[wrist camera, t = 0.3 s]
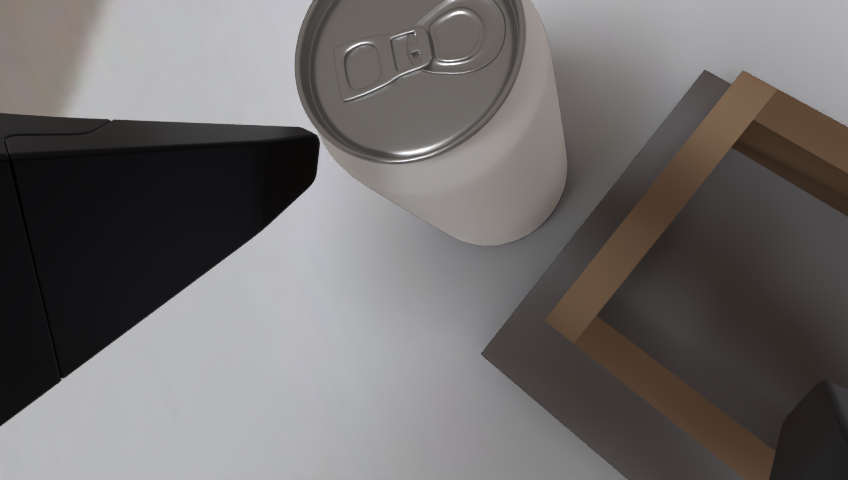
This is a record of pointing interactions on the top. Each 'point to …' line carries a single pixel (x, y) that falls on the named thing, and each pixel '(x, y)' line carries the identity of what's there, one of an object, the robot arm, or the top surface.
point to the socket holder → (697, 291)
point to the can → (439, 108)
